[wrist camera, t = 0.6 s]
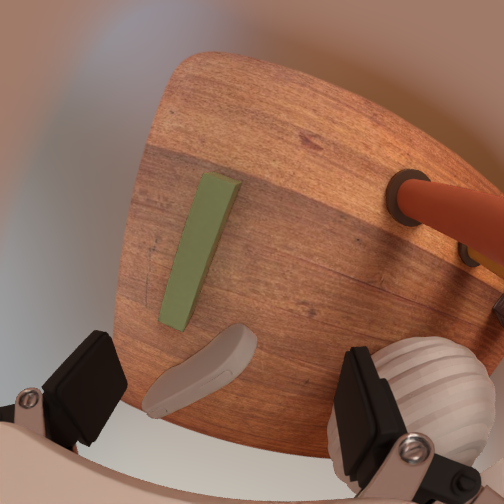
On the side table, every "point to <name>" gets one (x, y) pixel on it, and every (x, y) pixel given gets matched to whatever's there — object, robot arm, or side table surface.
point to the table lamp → (436, 401)
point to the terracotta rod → (449, 211)
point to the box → (500, 310)
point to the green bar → (197, 247)
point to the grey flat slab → (202, 372)
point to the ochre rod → (479, 260)
